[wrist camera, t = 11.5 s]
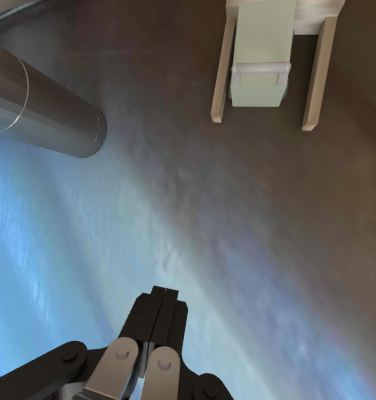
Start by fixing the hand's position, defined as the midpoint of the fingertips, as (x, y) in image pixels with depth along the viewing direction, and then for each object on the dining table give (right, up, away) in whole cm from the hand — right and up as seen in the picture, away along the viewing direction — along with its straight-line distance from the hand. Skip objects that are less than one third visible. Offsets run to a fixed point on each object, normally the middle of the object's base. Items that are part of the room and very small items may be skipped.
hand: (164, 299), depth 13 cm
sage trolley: (+12, +24, +19) cm, 33 cm away
